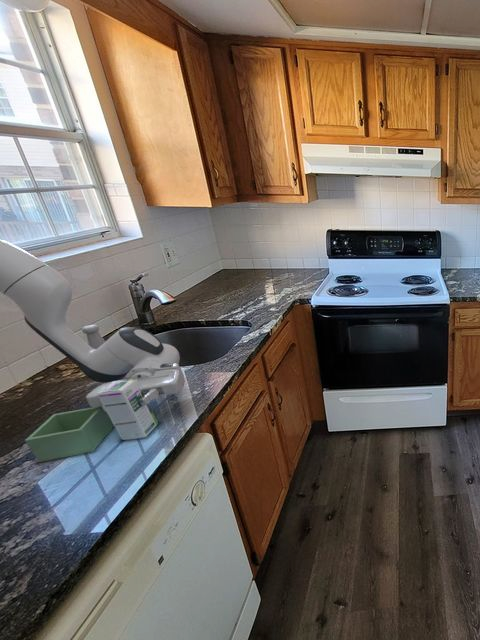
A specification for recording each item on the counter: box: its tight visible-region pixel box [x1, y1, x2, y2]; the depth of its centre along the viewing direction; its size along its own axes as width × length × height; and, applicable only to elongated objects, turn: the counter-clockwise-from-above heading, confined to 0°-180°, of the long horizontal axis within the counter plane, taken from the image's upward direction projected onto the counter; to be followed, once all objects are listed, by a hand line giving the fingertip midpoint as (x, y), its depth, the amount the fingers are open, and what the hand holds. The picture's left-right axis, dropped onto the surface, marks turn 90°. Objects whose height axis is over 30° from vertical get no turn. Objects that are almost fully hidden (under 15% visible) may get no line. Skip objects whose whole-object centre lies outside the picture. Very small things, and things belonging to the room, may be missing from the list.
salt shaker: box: [81, 324, 106, 349], centre depth 133 cm, size 6×6×13 cm
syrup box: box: [97, 379, 159, 441], centre depth 92 cm, size 6×6×14 cm
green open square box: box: [24, 407, 115, 463], centre depth 91 cm, size 11×11×7 cm
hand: (125, 405), depth 91 cm, fingers closed on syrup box, 6 cm apart
